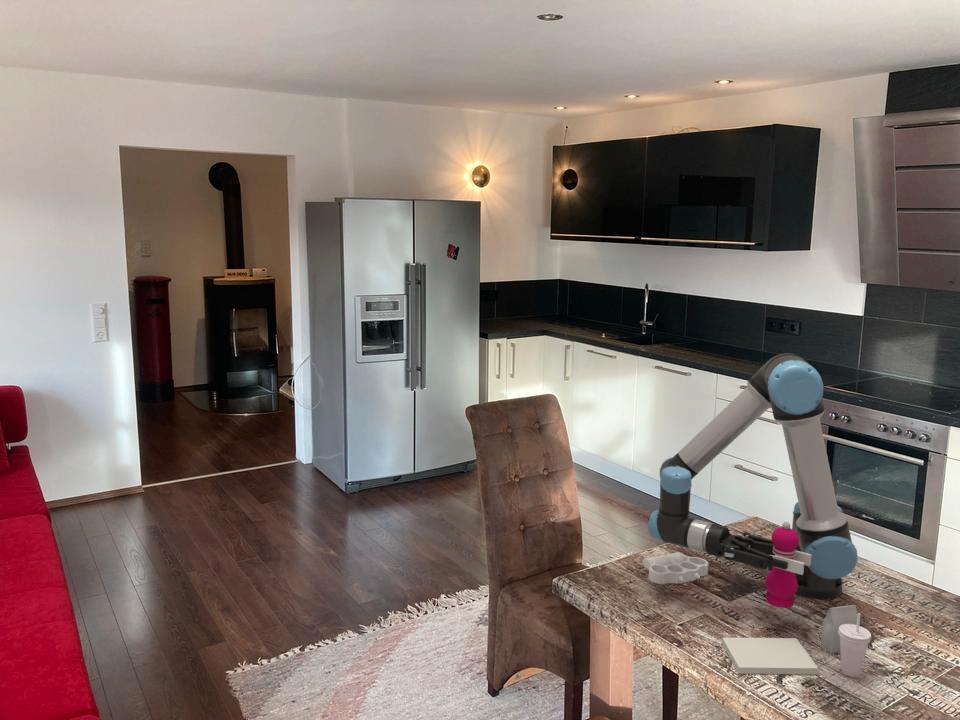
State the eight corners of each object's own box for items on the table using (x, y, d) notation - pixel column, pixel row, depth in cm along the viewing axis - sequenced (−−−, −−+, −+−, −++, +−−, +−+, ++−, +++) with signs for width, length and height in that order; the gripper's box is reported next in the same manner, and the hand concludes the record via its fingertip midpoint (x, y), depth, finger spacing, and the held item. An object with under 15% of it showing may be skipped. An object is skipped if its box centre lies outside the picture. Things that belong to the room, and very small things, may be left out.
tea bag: (857, 649, 177) (861, 609, 175) (831, 653, 176) (835, 612, 174) (845, 641, 181) (849, 601, 179) (820, 644, 179) (824, 604, 177)
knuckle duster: (685, 558, 225) (718, 580, 211) (632, 568, 218) (663, 591, 205) (686, 547, 224) (719, 568, 211) (632, 557, 217) (664, 579, 204)
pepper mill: (798, 610, 180) (806, 529, 177) (766, 607, 182) (772, 526, 178) (793, 596, 187) (800, 517, 184) (761, 593, 189) (767, 515, 185)
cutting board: (795, 644, 179) (796, 638, 179) (817, 674, 167) (818, 668, 167) (721, 643, 179) (722, 637, 179) (738, 673, 167) (739, 667, 167)
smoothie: (853, 684, 164) (860, 622, 161) (827, 668, 170) (833, 609, 167) (873, 676, 167) (880, 615, 164) (847, 661, 173) (853, 602, 170)
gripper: (722, 541, 201) (816, 566, 187) (694, 565, 187) (793, 594, 173) (724, 513, 200) (819, 536, 186) (695, 535, 186) (796, 562, 172)
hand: (806, 564), depth 179 cm, fingers closed on pepper mill, 5 cm apart
